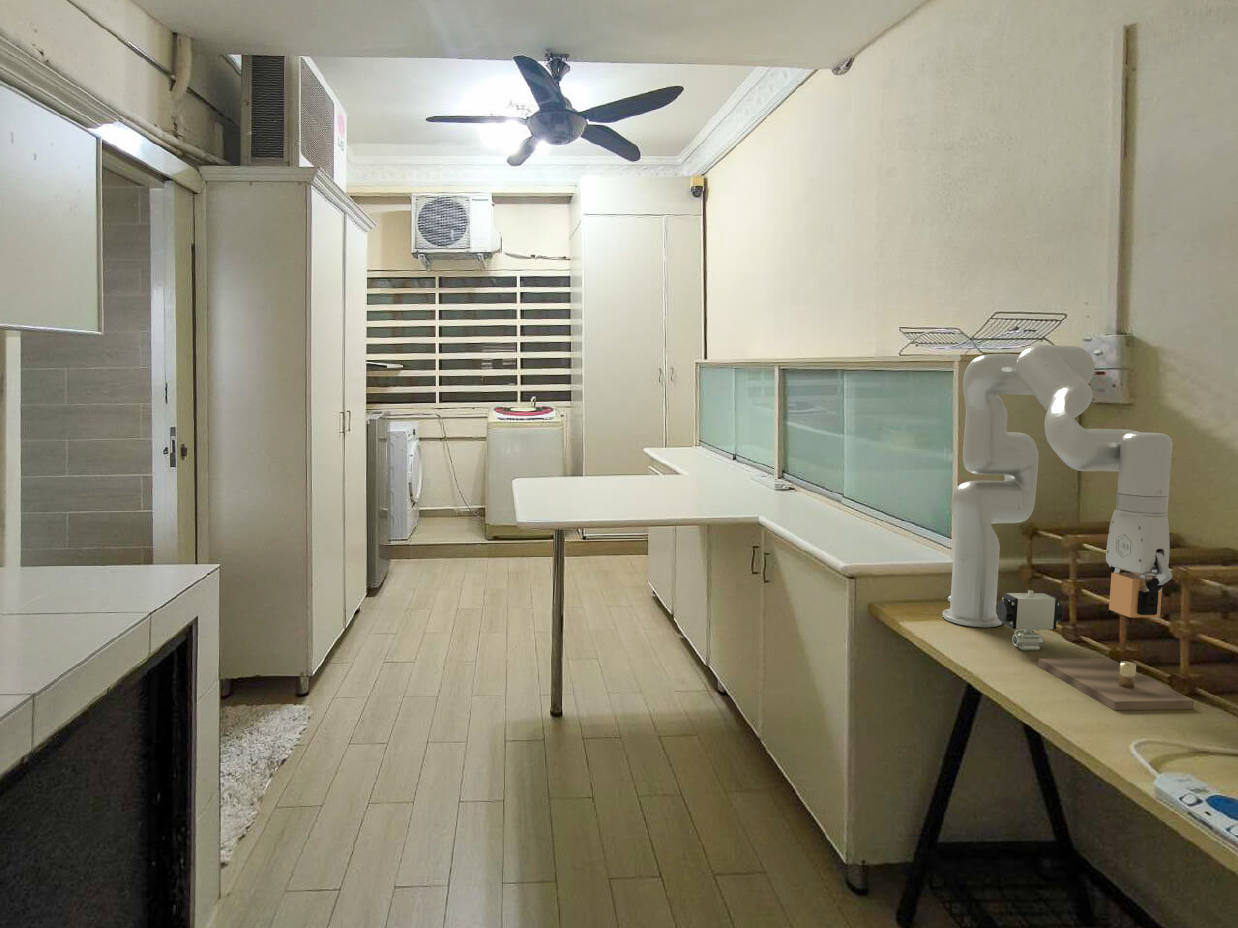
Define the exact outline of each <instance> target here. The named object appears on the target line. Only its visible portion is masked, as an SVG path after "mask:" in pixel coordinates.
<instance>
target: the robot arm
mask: <svg viewBox="0 0 1238 928" xmlns="http://www.w3.org/2000/svg"><path fill="white" fill-rule="evenodd" d="M1094 374H1095V361H1094V359H1093V357H1092V355H1091V354H1090V353H1089V352H1088V351H1087V350H1086V349H1084V348H1082V347H1080V346H1075V345H1054V344H1053V345H1052V344H1051V345H1050V344H1040V345H1039V344H1038V345H1034V346H1030V347H1028V348H1025V349H1024V350H1023V351H1022V352H1021V353H1020V354H1017V353H991V354H990V353H989V354H984V355H983V354H982V355H980V356H978V357H975V358H974V359H972V360H971V361H970V363H969V364H968V365H967V367H966V369H965V371H964V375H963V381H962V391H963V397H964V404H965V418H964V419H965V420H964V421H965V422H964V430H963V431H964V432H963V433H964V434H963V445H962V447H963V449H962V462H963V467H964V468H965V470H966V471H967V472H969V473H971V474H973V475H974V474H975V475H982V476H983V475H984V476H995V475H996V476H1004V480H989V479H988V480H986V479H985V480H969V481H966V482H962V483H961V484H959V485H958V486H957V487H955V489H954V490H953V492H952V497H951V507H952V508H951V509H952V514H953V525H954V528H953V529H954V530H953V531H954V534H953V535H954V537H953V555H952V556H953V557H952V572H951V573H952V574H951V585H950V587H951V588H950V590H951V591H950V592H951V593H950V595H949V596H948V597H947V601H949V602H950V603H949V604H950V606H949V608H946V609H944V610H943V611H942V615H943V616H942V618H943V617H944V618H943V619H944V620H946V621H948V622H950V623H954V624H956V625H960V626H961V625H962V626H966V627H967V626H968V627H974V628H994V627H999V626H1001V625H1002V624H1003V623H1002V622H1001V621H1000V620H999V619H998V617H997V613H996V606H997V598H998V597H997V596H998V595H997V594H998V585H999V584H998V582H999V581H998V580H999V568H1000V565H999V564H1000V549H1001V546H1000V545H1001V544H1000V541H999V537H998V535H997V534H996V532H995V530H994V527H992V524H1019V523H1024V522H1025V521H1027V520H1028V519H1029V518H1030V517H1031V516H1032V513H1033V512H1034V508H1035V503H1036V494H1037V483H1038V482H1037V481H1038V474H1039V473H1038V471H1039V470H1038V469H1039V460H1040V459H1039V458H1040V457H1039V450H1038V446H1037V444H1036V442H1035V440H1034V439H1033V437H1031V436H1030V435H1029V434H1027V433H1023V432H1018V431H1017V432H1016V431H1015V432H1014V431H1013V432H1012V431H1007V428H1008V427H1007V425H1008V410H1007V407H1006V406H1005V403H1004V401H1003V398H1001V397H1000V396H999V395H1002V394H1003V395H1024V396H1025V395H1027V396H1028V395H1031V396H1035V397H1034V398H1035V399H1036V400H1037V401H1038V402H1039V403H1040V404H1041V406H1042V407H1043V408H1044V409H1045V410H1046V414H1045V416H1044V434H1045V438H1046V441H1047V443H1048V445H1049V446H1050V448H1051V449H1052V450H1053V451H1054V452H1055V454H1056V455H1057V457H1058V458H1059V459H1060V460H1061V461H1062V462H1063V463H1064V464H1065V465H1067V466H1068V467H1069V468H1070V469H1072V470H1076V471H1080V472H1118V477H1117V490H1116V491H1117V494H1116V502H1115V503H1116V506H1115V508H1116V509H1114V511H1113V513H1112V517H1111V520H1110V524H1109V527H1108V528H1109V529H1108V535H1107V540H1106V541H1107V542H1106V551H1105V561H1106V563H1107V564H1108V566H1109V570H1110V572H1111V573H1135V574H1139V575H1140V582H1141V588H1142V591H1139V593H1138V608H1137V613H1138V614H1139V615H1156V614H1157V607H1158V593H1159V592H1161V590H1162V591H1163V587H1164V586H1165V585H1166V583H1168V582H1169V581H1170V580H1172V579H1173V574H1172V572H1171V571H1172V570H1171V569H1170V567H1169V563H1170V526H1169V518H1168V511H1169V510H1168V509H1169V496H1170V482H1171V481H1170V480H1171V466H1172V456H1173V455H1172V454H1173V440H1172V438H1171V436H1169V435H1168V434H1166V433H1161V432H1150V431H1149V432H1141V431H1138V430H1132V429H1125V428H1123V429H1121V428H1120V429H1119V428H1118V429H1117V428H1114V429H1113V428H1084V427H1082V425H1081V424H1080V423H1078V421H1077V420H1076V419H1075V418H1077V417H1078V416H1080V415H1081V414H1083V413H1084V412H1085V411H1086V410H1087V409H1088V407H1089V406H1090V405H1091V403H1092V400H1093V397H1094V396H1093V395H1094V393H1093V390H1092V387H1091V386H1090V384H1089V383H1090V382H1091V380H1092V378H1093V376H1094ZM1148 577H1152V580H1151V581H1150V582H1149V583H1148Z"/></svg>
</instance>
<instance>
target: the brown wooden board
mask: <svg viewBox="0 0 1238 928" xmlns="http://www.w3.org/2000/svg"><path fill="white" fill-rule="evenodd" d="M1037 663H1038V664H1037V666H1038V667H1039V668H1041V669H1042V670H1044V671H1046V672H1048V673H1050V675H1053V676H1054V677H1056V678H1058V679H1060V680H1061V681H1062V682H1065V683H1067V684H1068V685H1070V686H1072V687H1073V688H1075V689H1077V690H1078V691H1080V692H1082V693H1084V694H1085V695H1087V696H1089V697H1090V698H1092V699H1093V700H1096V701H1097V702H1099V703H1101V704H1102V705H1105V706H1106V707H1108V708H1110V709H1111V710H1113V711H1143V710H1144V711H1148V710H1149V711H1150V710H1151V711H1152V710H1153V711H1156V710H1194V706H1195V705H1194V703H1195V700H1194V699H1192V698H1190V697H1188V696H1186V695H1184V694H1182V693H1180V692H1178V691H1176V690H1174V689H1172V688H1171V687H1168V686H1167V685H1164V684H1162V683H1160V682H1158V681H1156V680H1154V679H1152V678H1150V677H1148V676H1146V675H1144V674H1143V673H1140V672H1138V671H1137V664H1136V663H1134V662H1131V661H1125V660H1123V661H1120V662H1117V661H1116V660H1113V659H1112V658H1109V657H1061V658H1060V657H1058V658H1057V657H1049V658H1045V657H1044V658H1041V657H1039V658H1038V661H1037Z"/></svg>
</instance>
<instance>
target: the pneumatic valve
mask: <svg viewBox="0 0 1238 928" xmlns="http://www.w3.org/2000/svg"><path fill="white" fill-rule="evenodd" d="M995 614H997V617H998V619H999V620H1000V621H1001V622H1002V624H1003V625H1005V626H1007V627H1009V628H1010V629H1012V630H1014V634H1013V635H1012V636H1011V637H1012V638H1011V640H1012V645H1013V646H1014V647H1016V648H1019V650H1021V651H1023V652H1025V651H1027V652H1028V651H1029V652H1030V651H1033V652H1037V651H1040V650H1041V646H1042V645H1043V644H1044V641H1043V640H1044V639H1043V637H1042V635H1041V634H1040V633H1037V632H1039V631H1040V630H1057V625H1058V623H1060V622H1061V621H1062V620H1063V619H1064V607H1063V605H1062V603H1061V601H1059V599H1058V598H1056V597H1055V596H1052V595H1050V594H1049V593H1045V592H1042V593H1041V592H1038V593H1037V592H1034V590H1032V589H1028V590H1027V592H1003V595H1002V598H1001V599H1000V600H998V601H997V602H996V613H995Z"/></svg>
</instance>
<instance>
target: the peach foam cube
mask: <svg viewBox="0 0 1238 928" xmlns="http://www.w3.org/2000/svg"><path fill="white" fill-rule="evenodd" d="M1110 577H1111V578H1110V591H1109V605H1108V610H1109V611H1113V612H1115V613H1117V614H1119V615H1122V616H1126V617H1128V618H1161V607H1162V593H1163V589H1162V590H1161V592H1159V593H1158V607H1157V614H1156V615H1139V614H1138V613H1137V608H1138V593H1139V591H1142V588H1141V582H1140V575H1139V574H1135V573H1112V572H1111V576H1110ZM1151 580H1152V577H1148V583H1149V582H1150V581H1151Z"/></svg>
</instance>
